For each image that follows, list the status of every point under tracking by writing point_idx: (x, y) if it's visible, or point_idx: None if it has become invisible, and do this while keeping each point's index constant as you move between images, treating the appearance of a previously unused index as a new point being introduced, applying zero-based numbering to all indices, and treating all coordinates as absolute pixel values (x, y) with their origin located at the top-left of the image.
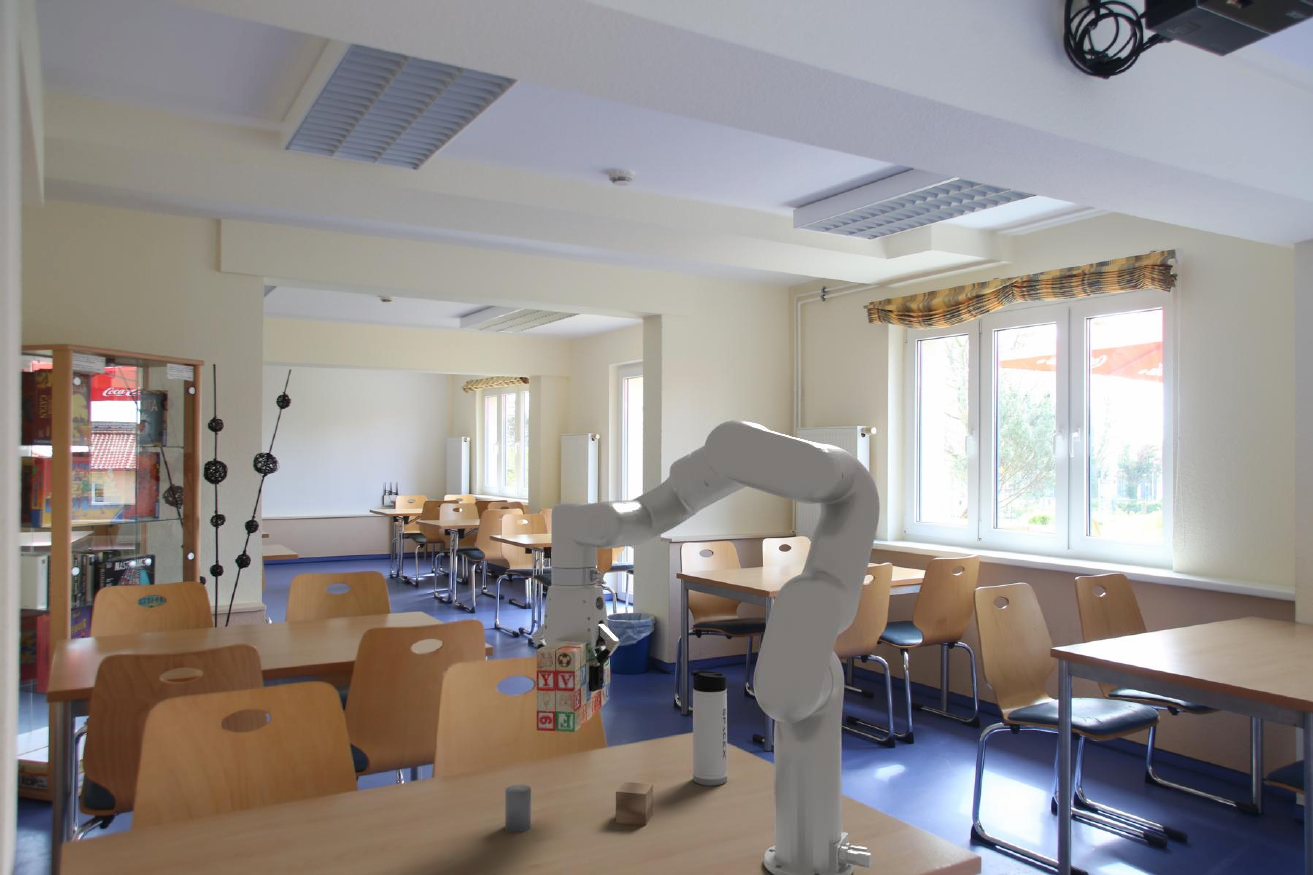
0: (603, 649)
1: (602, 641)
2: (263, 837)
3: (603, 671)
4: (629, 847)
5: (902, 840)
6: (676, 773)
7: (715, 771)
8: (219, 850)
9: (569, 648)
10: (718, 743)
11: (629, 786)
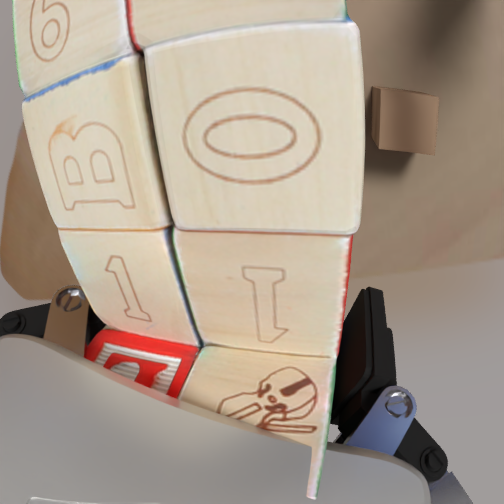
0: (328, 12)
1: (391, 477)
2: (47, 254)
3: (394, 369)
4: (405, 224)
5: None
6: None
7: None
8: (49, 278)
9: None
10: None
11: (398, 115)
